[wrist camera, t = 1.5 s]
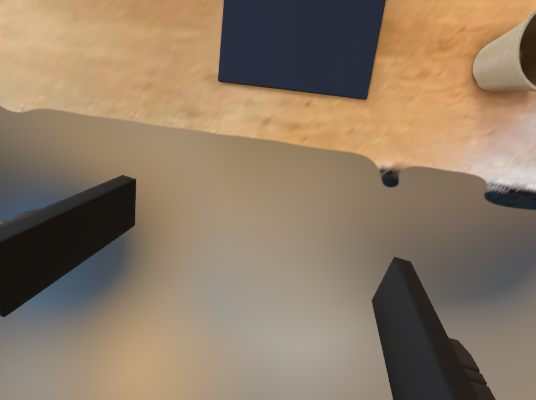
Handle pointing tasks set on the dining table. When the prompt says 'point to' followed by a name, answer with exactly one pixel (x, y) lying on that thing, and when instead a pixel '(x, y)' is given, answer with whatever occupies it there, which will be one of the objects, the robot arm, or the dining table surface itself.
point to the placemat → (301, 44)
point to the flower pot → (509, 60)
